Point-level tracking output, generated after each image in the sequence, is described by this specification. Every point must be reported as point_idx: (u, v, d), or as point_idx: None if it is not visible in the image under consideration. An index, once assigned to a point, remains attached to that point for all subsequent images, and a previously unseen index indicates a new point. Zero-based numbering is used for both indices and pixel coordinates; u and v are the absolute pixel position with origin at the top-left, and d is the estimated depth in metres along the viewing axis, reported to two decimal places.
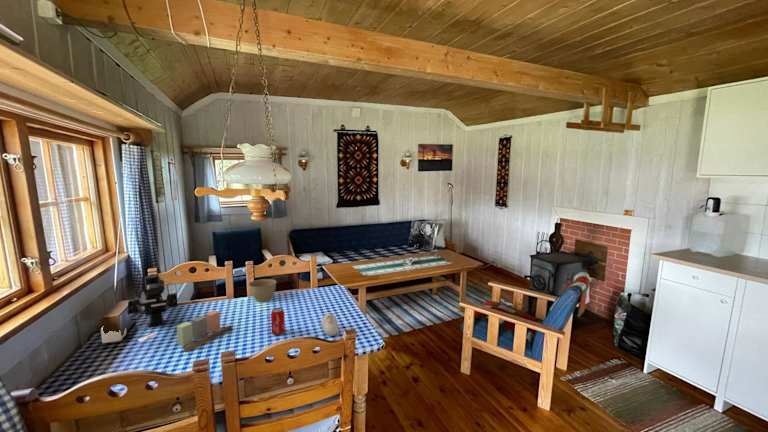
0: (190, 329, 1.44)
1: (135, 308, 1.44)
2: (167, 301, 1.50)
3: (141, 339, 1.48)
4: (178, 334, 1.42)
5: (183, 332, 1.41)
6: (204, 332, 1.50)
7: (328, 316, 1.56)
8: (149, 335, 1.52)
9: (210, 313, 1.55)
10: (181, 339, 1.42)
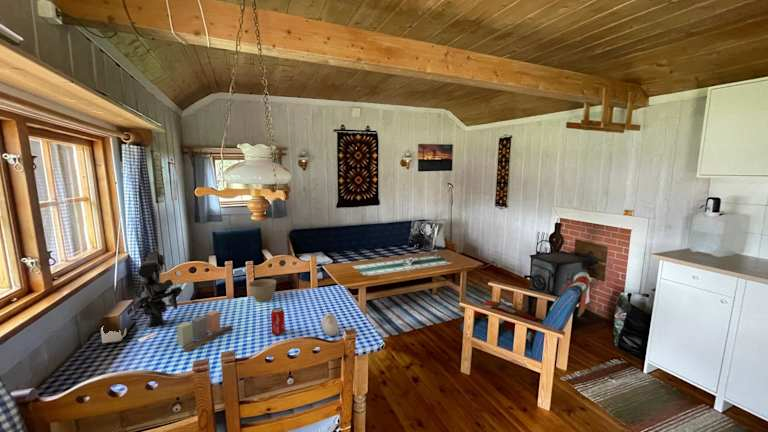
0: (190, 329, 1.44)
1: (147, 306, 1.44)
2: (174, 299, 1.52)
3: (141, 339, 1.48)
4: (178, 334, 1.42)
5: (183, 332, 1.41)
6: (204, 332, 1.50)
7: (328, 316, 1.56)
8: (149, 335, 1.52)
9: (210, 313, 1.55)
10: (181, 339, 1.42)
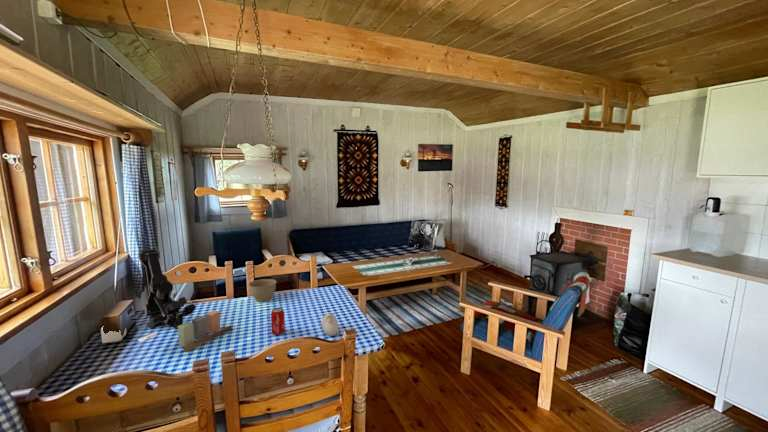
0: (191, 329, 1.44)
1: (169, 321, 1.44)
2: (180, 320, 1.45)
3: (141, 339, 1.48)
4: (179, 334, 1.42)
5: (184, 333, 1.41)
6: (204, 332, 1.50)
7: (328, 316, 1.56)
8: (149, 335, 1.52)
9: (210, 313, 1.55)
10: (182, 339, 1.41)
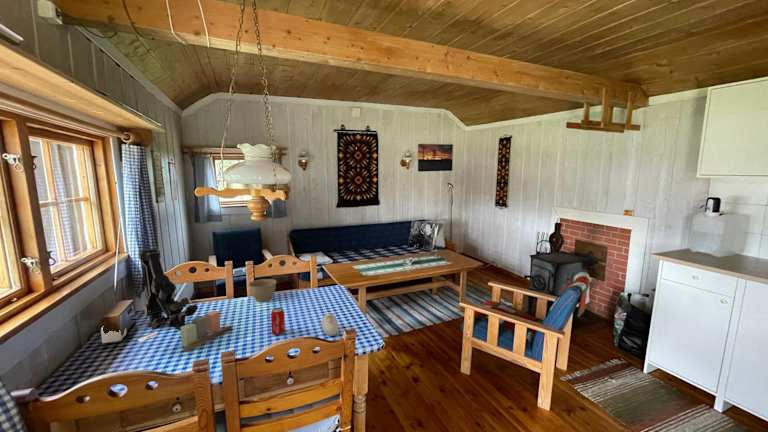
0: (194, 330, 1.43)
1: (172, 322, 1.43)
2: (183, 321, 1.45)
3: (141, 339, 1.48)
4: (182, 335, 1.41)
5: (187, 334, 1.40)
6: (204, 332, 1.50)
7: (328, 316, 1.56)
8: (149, 335, 1.52)
9: (210, 313, 1.55)
10: (185, 340, 1.40)
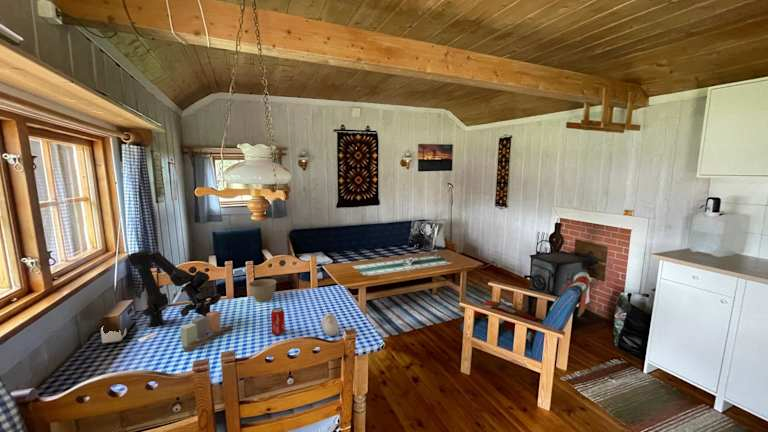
0: (194, 330, 1.43)
1: (198, 310, 1.57)
2: (208, 309, 1.58)
3: (141, 339, 1.48)
4: (182, 335, 1.41)
5: (187, 334, 1.40)
6: (204, 332, 1.50)
7: (328, 316, 1.56)
8: (149, 335, 1.52)
9: (210, 313, 1.55)
10: (185, 340, 1.40)
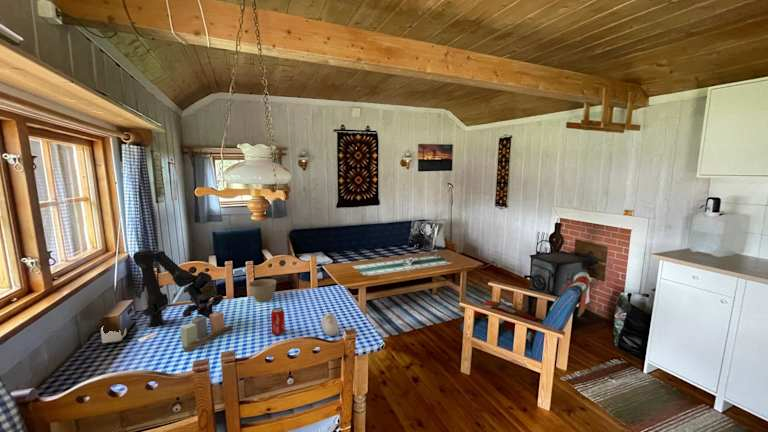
0: (194, 330, 1.43)
1: (201, 311, 1.56)
2: (211, 310, 1.58)
3: (141, 339, 1.48)
4: (182, 335, 1.41)
5: (187, 334, 1.40)
6: (204, 332, 1.50)
7: (328, 316, 1.56)
8: (149, 335, 1.52)
9: (214, 314, 1.54)
10: (185, 340, 1.40)
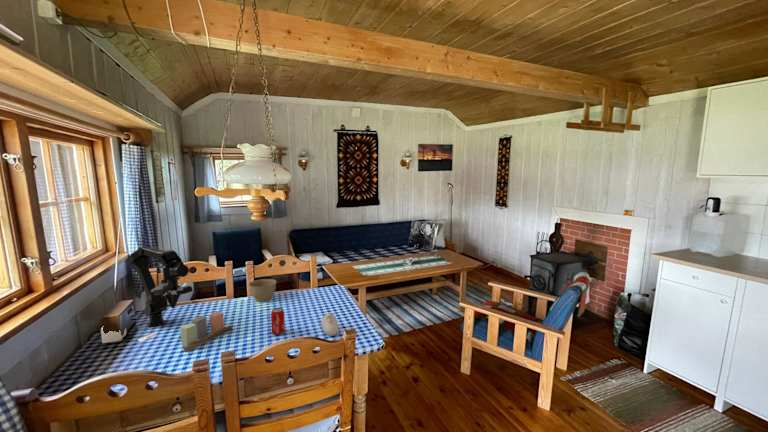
0: (194, 330, 1.43)
1: None
2: (171, 299, 1.55)
3: (141, 339, 1.48)
4: (182, 335, 1.41)
5: (187, 334, 1.40)
6: (204, 332, 1.50)
7: (328, 316, 1.56)
8: (149, 335, 1.52)
9: (214, 314, 1.54)
10: (185, 340, 1.40)
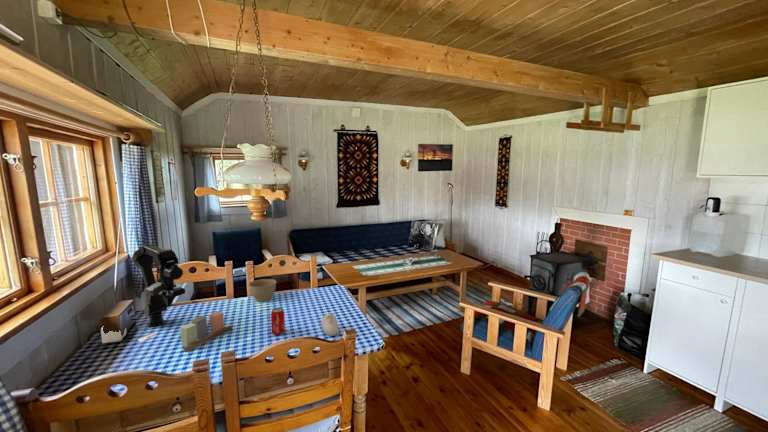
0: (194, 330, 1.43)
1: None
2: (166, 299, 1.54)
3: (141, 339, 1.48)
4: (182, 335, 1.41)
5: (187, 334, 1.40)
6: (204, 332, 1.50)
7: (328, 316, 1.56)
8: (149, 335, 1.52)
9: (214, 314, 1.54)
10: (185, 340, 1.40)
